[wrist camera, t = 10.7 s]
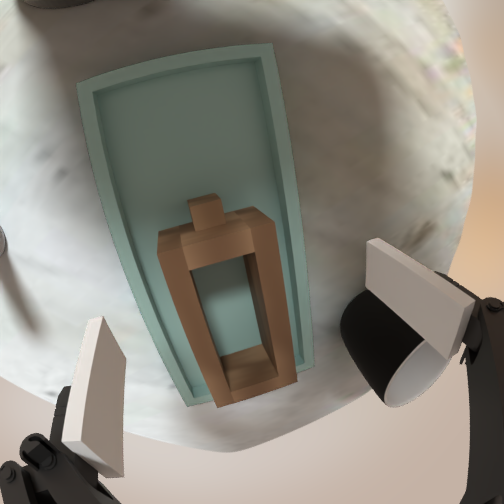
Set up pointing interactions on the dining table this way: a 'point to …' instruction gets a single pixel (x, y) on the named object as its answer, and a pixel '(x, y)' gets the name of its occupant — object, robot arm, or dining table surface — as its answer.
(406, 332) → the mug
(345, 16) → the dining table surface
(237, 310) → the tray
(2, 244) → the silver cylindrical piece
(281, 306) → the wooden rectangular frame
